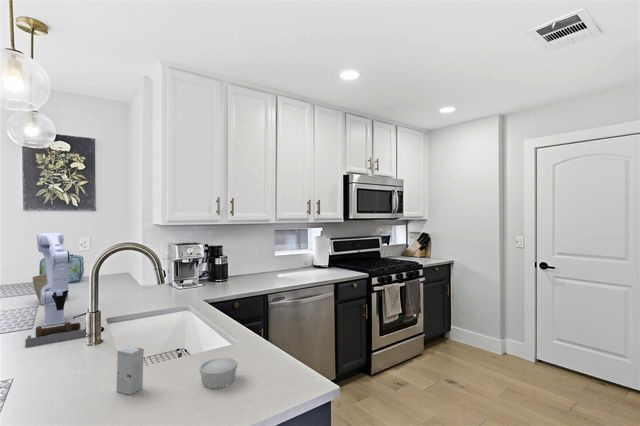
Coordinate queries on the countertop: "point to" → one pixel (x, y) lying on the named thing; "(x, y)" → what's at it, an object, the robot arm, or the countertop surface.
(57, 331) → the bolt
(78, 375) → the countertop surface
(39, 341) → the bracket
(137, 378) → the skincare box
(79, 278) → the lunch box
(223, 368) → the ramekin
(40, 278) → the plant pot
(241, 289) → the countertop surface
